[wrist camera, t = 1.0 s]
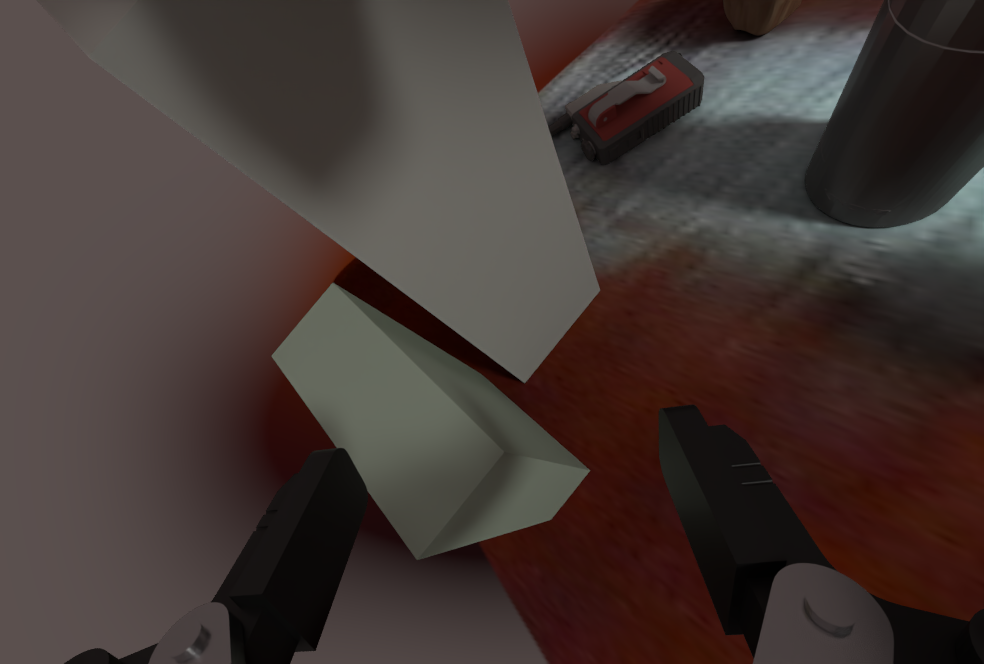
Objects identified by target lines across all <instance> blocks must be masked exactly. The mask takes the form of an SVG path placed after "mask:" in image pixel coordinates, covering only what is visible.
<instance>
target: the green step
mask: <svg viewBox="0 0 984 664" xmlns="http://www.w3.org/2000/svg"><path fill="white" fill-rule="evenodd" d="M272 358H273V359H274V360H275V361H276V363H277V365H278V366H279V367H280V369H281V370H282V372H283V373H284V374H285V376H286V377H287V379H288V380H289V381H290V383H291V384H292V385H293V387H294V388H295V390H296V391H297V392H298V394H299V395H300V397H301V398H302V399H303V401H304V402H305V404H306V405H307V407H308V408H309V409H310V411H311V412H312V414H313V415H314V416H315V418H316V419H317V421H318V422H319V423H320V425H321V426H322V428H323V429H324V430H325V432H326V433H327V435H328V436H329V437H330V439H331V440H332V441H333V443H334V444H335V446H336V447H337V448H344V449H345V450H346V451H347V452H348V454H349V456H350V458H351V459H352V461H353V463H354V465H355V467H356V468H357V470H358V472H359V474H360V476H361V477H362V479H363V481H364V483H365V485H366V488H367V491H368V492H369V493H370V495H371V496H372V497H373V499H374V500H375V502H376V503H377V504H378V506H379V507H380V509H381V510H382V512H383V513H384V514H385V516H386V517H387V519H388V520H389V521H390V523H391V524H392V526H393V527H394V528H395V530H396V531H397V533H398V534H399V535H400V537H401V538H402V539H403V541H404V542H405V544H406V545H407V546H408V548H409V549H410V551H411V552H412V553H413V555H414V556H415V558H416V559H417V560H419V559H422V558H426V557H429V556H432V555H435V554H439V553H442V552H446V551H449V550H452V549H455V548H459V547H462V546H465V545H468V544H472V543H475V542H479V541H482V540H485V539H489V538H492V537H495V536H499V535H502V534H505V533H509V532H512V531H515V530H519V529H522V528H525V527H529V526H532V525H535V524H539V523H542V522H545V521H549V520H551V519H552V518H553V516H554V515H555V514H556V513H557V511H558V510H559V509H560V508H561V506H562V505H563V504H564V503H565V501H566V500H567V499H568V498H569V496H570V495H571V494H572V493H573V491H574V490H575V489H576V488H577V486H578V485H579V484H580V483H581V481H582V480H583V479H584V478H585V476H586V475H587V474H588V473H589V471H590V470H589V469H588V468H587V467H586V466H584V465H583V464H582V463H581V462H580V461H579V460H578V459H577V458H575V457H574V456H573V455H572V454H571V453H570V452H569V451H568V450H566V449H565V448H564V447H563V446H562V445H561V444H560V443H558V442H557V441H556V440H555V439H554V438H553V437H552V436H551V435H549V434H548V433H547V432H546V431H545V430H544V429H543V428H542V427H540V426H539V425H538V424H537V423H536V422H535V421H534V420H533V419H531V418H530V417H529V416H528V415H527V414H526V413H525V412H523V411H522V410H521V409H520V408H519V407H518V406H517V405H516V404H514V403H513V402H512V401H511V400H510V399H509V398H508V397H507V396H505V395H504V394H503V393H502V392H501V391H500V390H499V389H498V388H496V387H495V386H494V385H493V384H492V383H491V382H490V381H488V380H487V379H486V378H485V377H484V376H483V375H482V374H480V373H479V372H477V371H475V370H474V369H472V368H470V367H469V366H467V365H466V364H464V363H462V362H461V361H459V360H458V359H456V358H454V357H453V356H451V355H449V354H448V353H446V352H445V351H443V350H441V349H440V348H438V347H436V346H435V345H433V344H432V343H430V342H428V341H427V340H425V339H424V338H422V337H420V336H419V335H417V334H415V333H414V332H412V331H411V330H409V329H407V328H406V327H404V326H403V325H401V324H399V323H398V322H396V321H394V320H393V319H391V318H390V317H388V316H386V315H385V314H383V313H381V312H380V311H378V310H377V309H375V308H373V307H372V306H370V305H369V304H367V303H365V302H364V301H362V300H360V299H359V298H357V297H356V296H354V295H352V294H351V293H349V292H348V291H346V290H344V289H343V288H341V287H339V286H338V285H336V284H335V283H332V284H331V285H330V287H329V288H328V289H327V290H326V291H325V293H324V294H323V295H322V296H321V297H320V298H319V300H318V301H317V302H316V303H315V304H314V306H313V307H312V308H311V309H310V310H309V312H308V313H307V314H306V315H305V317H304V318H303V319H302V320H301V321H300V323H299V324H298V325H297V326H296V327H295V328H294V330H293V331H292V332H291V333H290V334H289V336H288V337H287V338H286V339H285V340H284V341H283V343H282V344H281V345H280V346H279V347H278V349H277V350H276V351H275V352H274V353H273V355H272Z"/></svg>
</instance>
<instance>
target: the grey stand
mask: <svg viewBox="0 0 984 664" xmlns="http://www.w3.org/2000/svg"><path fill="white" fill-rule="evenodd" d="M37 1H38V2H39V3H40V4H41V5H42V6H43V8H44V9H45V10H46V11H47V12H48V13H49V14H50V15H51V16H52V17H53V19H54V20H55V21H56V22H57V23H58V24H59V25H60V26H61V27H62V29H63V30H64V31H65V32H66V33H67V34H68V35H69V36H70V37H71V38H72V39H73V41H74V42H75V43H76V44H77V45H78V46H79V47H80V48H81V49H82V51H83V52H84V53H85V54H86V55H87V56H88V57H89V58H91V59H92V60H93V61H94V62H96V63H97V64H98V65H100V66H101V67H102V68H104V69H105V70H106V71H108V72H109V73H111V74H112V75H113V76H115V77H116V78H117V79H119V80H120V81H121V82H123V83H124V84H125V85H126V86H128V87H129V88H131V89H132V90H133V91H135V92H136V93H137V94H138V95H140V96H141V97H143V98H144V99H146V101H148V102H149V103H151V104H152V105H153V106H155V107H156V108H157V109H159V110H160V111H161V112H163V113H164V114H165V115H167V116H168V117H169V118H171V119H172V120H174V121H175V122H176V123H177V124H179V125H180V126H181V127H183V128H184V129H185V130H187V131H188V132H190V133H191V134H192V135H193V136H195V137H196V138H197V139H199V140H200V141H201V142H203V143H204V144H205V145H207V146H208V147H209V148H211V149H212V150H214V151H215V152H216V153H217V154H219V155H220V156H221V157H223V158H224V159H225V160H227V161H228V162H229V163H231V164H232V165H233V166H235V167H236V168H237V169H239V170H240V171H242V172H243V173H244V174H246V175H247V176H248V177H249V178H251V179H252V180H254V181H255V182H256V183H258V184H259V185H260V186H262V187H263V188H264V189H266V190H267V191H268V192H270V193H271V194H272V195H274V196H275V197H276V198H278V199H279V200H280V201H282V202H283V203H284V204H286V205H287V206H288V207H290V208H291V209H292V210H294V211H295V212H296V213H298V214H299V215H300V216H302V217H303V218H304V219H306V220H307V221H308V222H310V223H311V224H312V225H314V226H315V227H316V228H318V229H319V230H320V231H322V232H323V233H324V234H326V235H327V236H328V237H330V238H331V239H333V240H334V241H335V242H336V243H338V244H339V245H341V246H342V247H343V248H345V249H346V250H347V251H348V252H350V253H351V254H353V255H354V256H355V257H356V258H358V259H359V260H361V261H362V262H363V263H365V264H366V265H367V266H369V267H370V268H371V269H373V270H374V271H375V272H377V273H378V274H379V275H381V276H382V277H383V278H385V279H386V280H387V281H389V282H390V283H391V284H393V285H394V286H395V287H397V288H398V289H399V290H401V291H402V292H403V293H405V294H406V295H407V296H409V297H410V298H411V299H413V300H414V301H415V302H417V303H418V304H419V305H421V306H422V307H423V308H425V309H426V310H427V311H429V312H430V313H431V314H433V315H434V316H435V317H437V318H438V319H439V320H441V321H442V322H443V323H445V324H446V325H447V326H449V327H450V328H451V329H453V330H454V331H455V332H457V333H458V334H459V335H461V336H462V337H464V338H465V339H466V340H468V341H469V342H470V343H472V344H473V345H474V346H476V347H477V348H478V349H480V350H481V351H482V352H484V353H485V354H486V355H488V356H489V357H490V358H492V359H493V360H494V361H496V362H497V363H498V364H500V365H501V366H502V367H504V368H505V369H506V370H508V371H509V372H510V373H512V374H513V375H514V376H516V377H517V378H518V379H520V380H521V381H522V382H524V383H525V382H526V381H527V380H528V379H529V377H530V376H531V375H532V374H533V372H534V371H535V370H536V369H537V368H538V366H539V365H540V364H541V363H542V361H543V360H544V359H545V358H546V356H547V355H548V354H549V353H550V352H551V350H552V349H553V348H554V347H555V345H556V344H557V343H558V342H559V340H560V339H561V338H562V337H563V336H564V334H565V333H566V332H567V331H568V329H569V328H570V327H571V326H572V324H573V323H574V322H575V321H576V320H577V318H578V317H579V316H580V315H581V313H582V312H583V311H584V310H585V308H586V307H587V306H588V305H589V303H590V302H591V301H592V300H593V299H594V297H595V296H596V295H597V294H598V292H599V291H600V288H599V285H598V282H597V279H596V276H595V273H594V269H593V266H592V263H591V260H590V257H589V254H588V251H587V247H586V244H585V241H584V238H583V235H582V232H581V229H580V225H579V222H578V219H577V216H576V213H575V210H574V207H573V203H572V200H571V197H570V194H569V191H568V188H567V185H566V181H565V178H564V175H563V172H562V169H561V166H560V163H559V159H558V156H557V153H556V150H555V147H554V144H553V141H552V137H551V134H550V131H549V128H548V125H547V122H546V119H545V115H544V112H543V109H542V106H541V103H540V100H539V97H538V93H537V90H536V87H535V84H534V81H533V78H532V75H531V71H530V69H529V65H528V62H527V59H526V56H525V53H524V49H523V46H522V43H521V40H520V37H519V34H518V30H517V27H516V24H515V21H514V18H513V15H512V12H511V9H510V5H509V2H508V0H37Z"/></svg>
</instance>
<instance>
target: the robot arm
mask: <svg viewBox="0 0 984 664" xmlns="http://www.w3.org/2000/svg"><path fill="white" fill-rule="evenodd" d="M983 167H984V0H884V2H883V4H882V6H881V8H880V10H879V13H878V15H877V17H876V19H875V21H874V24H873V26H872V28H871V30H870V32H869V34H868V37H867V39H866V41H865V43H864V45H863V48H862V50H861V52H860V54H859V56H858V59H857V61H856V63H855V65H854V67H853V70H852V72H851V74H850V76H849V78H848V81H847V83H846V85H845V87H844V89H843V91H842V94H841V96H840V98H839V100H838V102H837V105H836V107H835V109H834V111H833V113H832V116H831V118H830V120H829V122H828V124H827V127H826V129H825V130H824V133H823V135H822V137H821V139H820V142H819V144H818V146H817V148H816V151H815V153H814V155H813V157H812V159H811V162H810V164H809V166H808V168H807V171H806V176H805V185H806V191H807V193H808V195H809V197H810V199H811V201H812V202H813V203H814V204H815V205H816V206H817V207H818V208H819V209H820V210H821V211H823V212H824V213H826V214H827V215H828V216H830V217H833V218H835V219H837V220H839V221H841V222H845V223H848V224H852V225H856V226H864V227H872V228H874V227H893V226H899V225H905V224H909V223H912V222H915V221H918V220H921V219H923V218H925V217H927V216H929V215H931V214H933V213H935V212H937V211H938V210H939V209H940V208H941V207H943V206H944V205H945V204H946V203H948V202H949V201H950V200H951V199H952V198H953V197H954V196H955V195H956V194H957V193H958V192H959V191H960V190H961V189H962V188H963V187H964V186H965V185H966V184H967V183H968V182H969V181H970V180H971V179H972V178H973V177H974V176H975V175H976V174H977V173H978V172H979V171H980V170H981V169H982V168H983ZM659 456H660V463H661V468H662V472H663V476H664V479H665V481H666V484H667V487H668V489H669V492H670V494H671V497H672V499H673V502H674V504H675V507H676V510H677V512H678V515H679V517H680V520H681V522H682V525H683V527H684V530H685V533H686V535H687V538H688V540H689V543H690V545H691V548H692V550H693V553H694V556H695V558H696V561H697V563H698V566H699V568H700V571H701V573H702V576H703V578H704V581H705V584H706V586H707V589H708V591H709V594H710V596H711V599H712V601H713V604H714V607H715V609H716V612H717V614H718V617H719V619H720V622H721V624H722V627H723V630H724V632H725V635H740V634H744V637H745V639H746V641H747V644H748V646H749V649H750V651H751V653H752V656H753V658H754V661H753V664H984V609H982V610H980V611H979V612H977V613H976V614H975V615H974V616H973V617H972V619H971V620H970V621H969V622H968V621H964V620H960V619H956V618H952V617H947V616H943V615H939V614H935V613H931V612H927V611H922V610H918V609H914V608H910V607H906V606H902V605H898V604H895V603H891V602H888V601H886V600H883V599H881V598H878V597H876V596H874V595H872V594H870V593H868V592H867V591H866V590H865V589H864V588H862V587H861V586H860V585H858V584H857V583H856V582H855V581H853V580H851V579H850V578H848V577H847V576H845V575H843V574H841V573H839V572H838V571H837V570H836V569H835V568H834V567H833V566H832V565H831V564H830V563H829V562H828V561H827V559H826V558H825V557H824V555H823V554H822V553H821V551H820V550H819V548H818V547H817V545H816V544H815V542H814V541H813V539H812V538H811V536H810V535H809V533H808V532H807V530H806V529H805V527H804V526H803V524H802V523H801V521H800V520H799V519H798V517H797V516H796V514H795V513H794V511H793V510H792V508H791V507H790V505H789V504H788V502H787V501H786V499H785V498H784V496H783V495H782V493H781V492H780V490H779V489H778V487H777V486H776V484H773V482H772V478H771V477H770V475H769V474H768V472H767V471H766V469H765V468H764V466H761V464H760V460H759V459H758V457H757V456H756V454H755V453H754V451H753V450H752V448H751V447H750V446H749V444H748V443H747V441H746V440H745V439H743V438H742V437H741V436H739V435H738V434H737V433H735V432H734V431H733V430H731V429H730V428H729V427H727V426H726V425H717V426H708V425H707V423H706V421H705V420H704V418H703V416H702V415H701V413H700V411H699V410H698V408H697V407H696V406H695V405H685V406H677V407H670V408H662V409H660V410H659ZM367 502H368V494H367V488H366V485H365V483H364V481H363V479H362V477H361V476H360V474H359V472H358V470H357V468H356V467H355V465H354V463H353V461H352V459H351V458H350V456H349V454H348V452H347V451H346V450H345V449H344V448H335V449H327V450H318V451H314V452H312V453H311V454H310V455H309V456H308V458H307V460H306V461H305V463H304V465H303V467H302V468H301V470H300V472H299V473H297V474H294V475H293V476H292V477H291V478H290V479H289V480H288V481H287V483H285V485H283V486H282V487H281V489H280V490H279V491H278V492H277V494H276V495H275V497H274V498H273V500H272V502H271V503H270V505H269V507H268V508H267V510H266V515H263V517H262V519H261V520H260V522H259V524H258V525H257V527H256V528H257V530H256V531H254V532H253V534H252V535H251V537H250V539H249V540H248V542H247V544H246V545H245V547H244V549H243V550H242V552H241V554H240V555H239V557H238V559H237V560H236V562H235V564H234V566H233V567H232V569H231V570H230V572H229V574H228V575H227V577H226V579H225V580H224V582H223V584H222V585H221V587H220V589H219V590H218V592H217V594H216V595H215V597H214V598H213V600H212V601H211V603H207V604H204V605H201V606H199V607H197V608H195V609H193V610H192V611H190V612H189V613H187V614H186V615H184V616H183V617H182V618H181V619H180V620H178V621H177V622H176V623H175V624H174V625H173V626H172V627H171V628H170V629H169V630H168V632H167V633H166V634H165V635H164V636H163V638H162V639H161V641H160V642H159V643H157V644H155V645H152V646H150V647H148V648H145V649H143V650H140V651H138V652H136V653H133V654H131V655H128V656H126V657H124V658H121V659H117V658H116V657H114V656H113V655H111V654H110V653H108V652H107V651H105V650H103V649H100V648H99V649H98V648H97V649H96V648H95V649H91V650H88V651H85V652H83V653H81V654H79V655H77V656H75V657H73V658H72V659H70V660H69V661H67V662H66V663H64V664H290V663H291V660H292V657H293V655H294V652H300V651H316V648H317V645H318V642H319V639H320V637H321V634H322V631H323V628H324V625H325V622H326V620H327V617H328V614H329V611H330V609H331V606H332V603H333V600H334V597H335V595H336V592H337V589H338V586H339V583H340V581H341V578H342V575H343V572H344V570H345V567H346V564H347V561H348V558H349V556H350V553H351V550H352V547H353V544H354V542H355V539H356V536H357V533H358V530H359V527H360V525H361V522H362V519H363V516H364V514H365V511H366V507H367Z"/></svg>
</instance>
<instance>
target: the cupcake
mask: <svg viewBox="0 0 984 664" xmlns="http://www.w3.org/2000/svg"><path fill="white" fill-rule="evenodd" d="M801 1H802V0H723V5H724V11H725V14H726V16H727V18H728V20H729V21H730V23H731V24H732V26H733V28H734V29H735V30H744V31H746V32H748V33H751V34H753V35H763V34H766V33H768V32H770V31H771V30H772V29H773V28H775V27H776V26H777V25H779V24H780V23H781V22H782V21H783V20H785V19H786V18H787V17H789V16H790V15H791V14H792V13H793V12H794V11H795V10H796V9H797V8H798V6H799V5H800V3H801Z"/></svg>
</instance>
